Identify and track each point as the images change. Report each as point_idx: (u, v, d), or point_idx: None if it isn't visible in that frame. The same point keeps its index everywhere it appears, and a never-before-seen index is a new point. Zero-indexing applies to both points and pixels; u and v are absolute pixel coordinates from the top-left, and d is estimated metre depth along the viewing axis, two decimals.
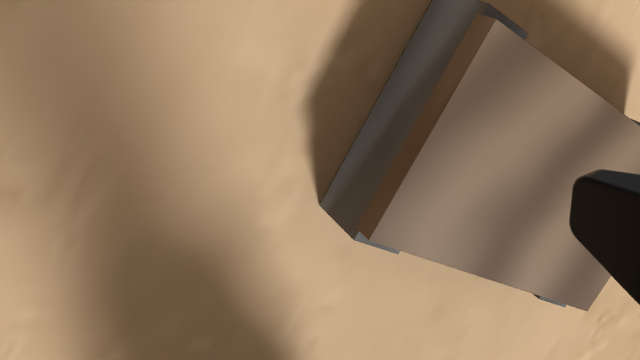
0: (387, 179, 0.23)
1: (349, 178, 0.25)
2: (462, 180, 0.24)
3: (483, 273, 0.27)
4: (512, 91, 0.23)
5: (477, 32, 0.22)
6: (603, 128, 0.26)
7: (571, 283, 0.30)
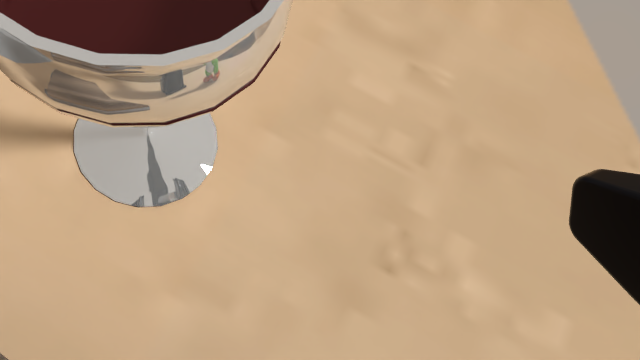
0: None
1: None
2: None
3: None
4: None
5: None
6: None
7: None
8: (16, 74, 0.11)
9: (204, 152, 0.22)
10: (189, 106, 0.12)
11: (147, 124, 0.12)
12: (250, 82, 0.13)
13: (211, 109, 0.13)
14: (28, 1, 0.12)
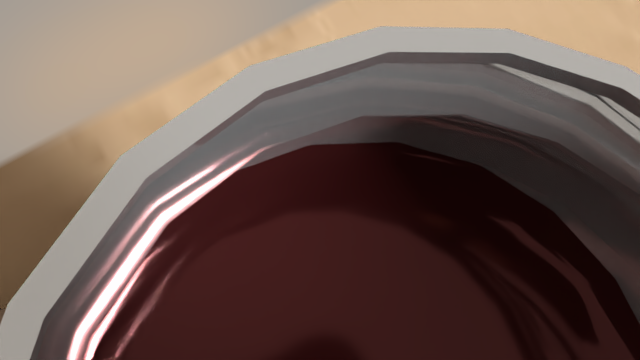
0: None
1: None
2: None
3: None
4: None
5: None
6: None
7: None
8: None
9: None
10: None
11: None
12: None
13: None
14: None
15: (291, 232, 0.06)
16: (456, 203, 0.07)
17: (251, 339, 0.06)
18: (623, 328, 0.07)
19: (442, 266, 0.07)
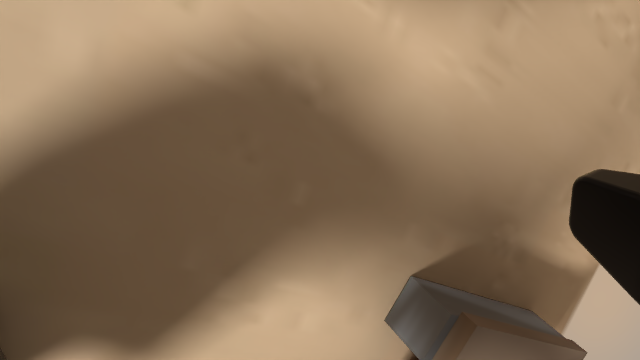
0: (496, 322, 0.27)
1: (447, 293, 0.29)
2: None
3: None
4: None
5: (573, 344, 0.31)
6: None
7: None
8: None
9: None
10: None
11: None
12: None
13: None
14: None
15: None
16: None
17: None
18: None
19: None
